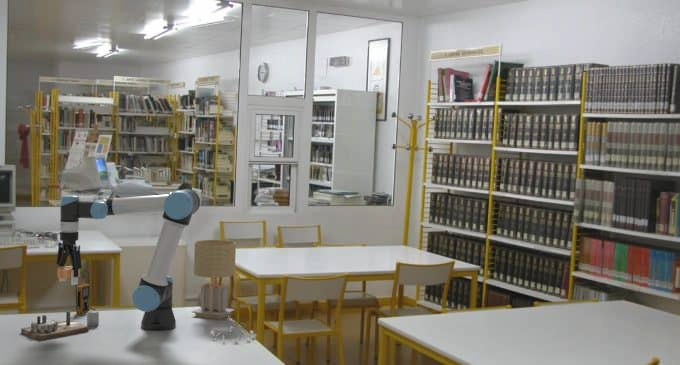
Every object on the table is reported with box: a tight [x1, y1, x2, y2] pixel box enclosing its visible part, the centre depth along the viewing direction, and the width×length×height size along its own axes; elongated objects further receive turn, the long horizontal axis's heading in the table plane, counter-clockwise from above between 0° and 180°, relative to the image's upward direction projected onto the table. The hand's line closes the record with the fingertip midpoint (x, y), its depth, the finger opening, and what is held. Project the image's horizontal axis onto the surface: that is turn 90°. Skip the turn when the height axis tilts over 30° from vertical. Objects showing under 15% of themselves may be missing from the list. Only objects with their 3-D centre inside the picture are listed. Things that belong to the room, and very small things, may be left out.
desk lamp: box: [191, 239, 237, 320], centre depth 361 cm, size 20×20×35 cm
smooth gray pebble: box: [86, 310, 100, 327], centre depth 336 cm, size 5×5×6 cm
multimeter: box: [75, 269, 96, 317], centre depth 358 cm, size 15×10×20 cm
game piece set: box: [209, 325, 258, 344], centre depth 322 cm, size 19×20×4 cm
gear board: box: [20, 310, 90, 341], centre depth 322 cm, size 16×22×8 cm
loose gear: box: [56, 265, 81, 280], centre depth 325 cm, size 9×9×4 cm
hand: (68, 282), depth 325 cm, fingers closed on loose gear, 9 cm apart
